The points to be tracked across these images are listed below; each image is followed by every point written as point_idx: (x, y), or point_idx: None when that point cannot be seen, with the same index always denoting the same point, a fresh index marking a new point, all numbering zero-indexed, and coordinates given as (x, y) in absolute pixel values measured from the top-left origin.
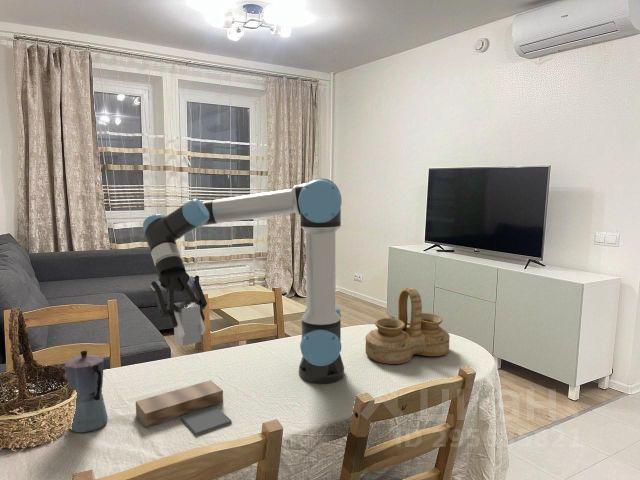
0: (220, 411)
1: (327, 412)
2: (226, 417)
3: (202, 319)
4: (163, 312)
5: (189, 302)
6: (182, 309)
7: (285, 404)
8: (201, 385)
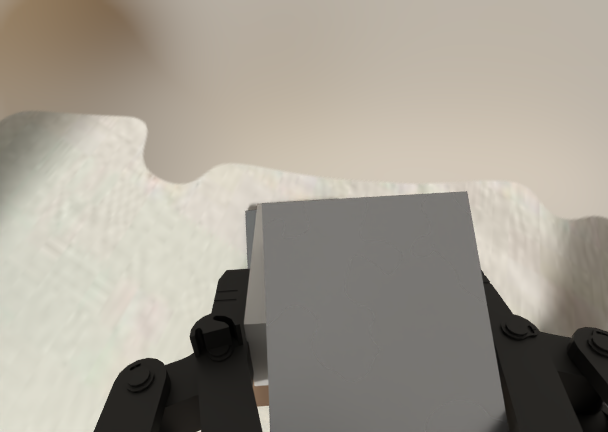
0: (250, 264)
1: (36, 140)
2: (250, 229)
3: (244, 269)
4: (600, 333)
5: (321, 393)
6: (452, 194)
7: (91, 223)
8: (255, 387)
